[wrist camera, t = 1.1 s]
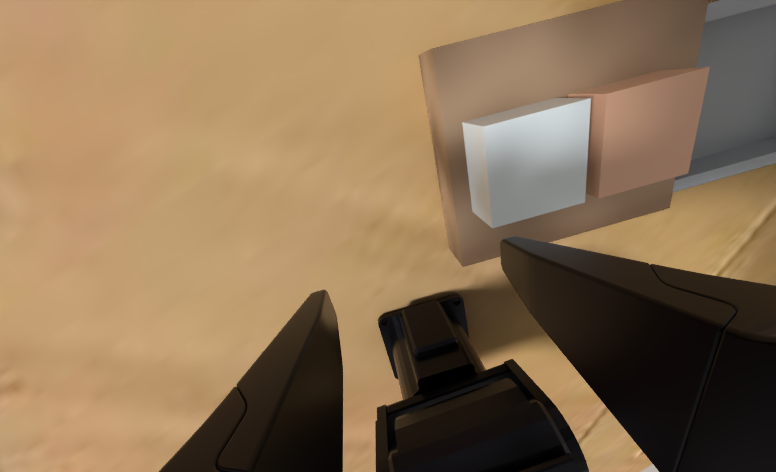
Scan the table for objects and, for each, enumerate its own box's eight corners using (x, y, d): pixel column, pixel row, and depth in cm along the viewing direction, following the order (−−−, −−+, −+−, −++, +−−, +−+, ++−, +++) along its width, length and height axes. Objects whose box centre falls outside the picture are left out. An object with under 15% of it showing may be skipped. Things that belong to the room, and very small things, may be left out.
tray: (791, 140, 22) (840, 144, 20) (637, 183, 22) (670, 192, 20) (850, -34, 18) (920, -51, 16) (659, 15, 17) (705, 4, 15)
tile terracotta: (644, 163, 18) (688, 173, 16) (565, 185, 18) (598, 198, 16) (657, 70, 16) (710, 66, 14) (568, 94, 16) (606, 94, 14)
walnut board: (635, 196, 22) (669, 207, 20) (449, 249, 22) (463, 266, 19) (662, -6, 17) (712, -22, 15) (418, 55, 16) (432, 48, 14)
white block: (553, 189, 18) (584, 202, 16) (472, 211, 18) (492, 228, 16) (554, 97, 16) (590, 98, 14) (462, 122, 16) (483, 126, 13)
